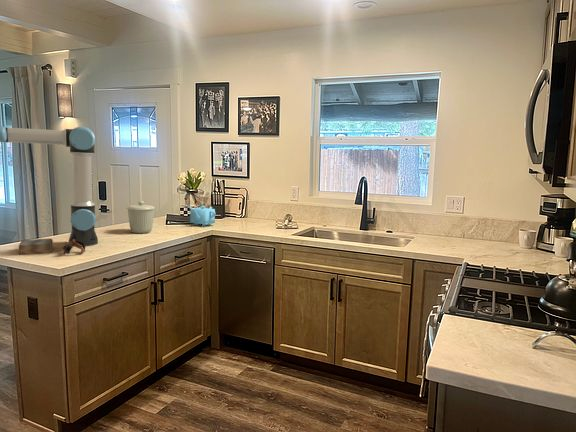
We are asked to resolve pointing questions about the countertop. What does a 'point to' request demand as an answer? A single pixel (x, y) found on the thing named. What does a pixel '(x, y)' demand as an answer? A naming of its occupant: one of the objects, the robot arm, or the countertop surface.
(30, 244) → the walnut plinth
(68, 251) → the brown headphones
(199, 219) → the teakettle
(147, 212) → the canister
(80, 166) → the robot arm
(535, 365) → the countertop surface
